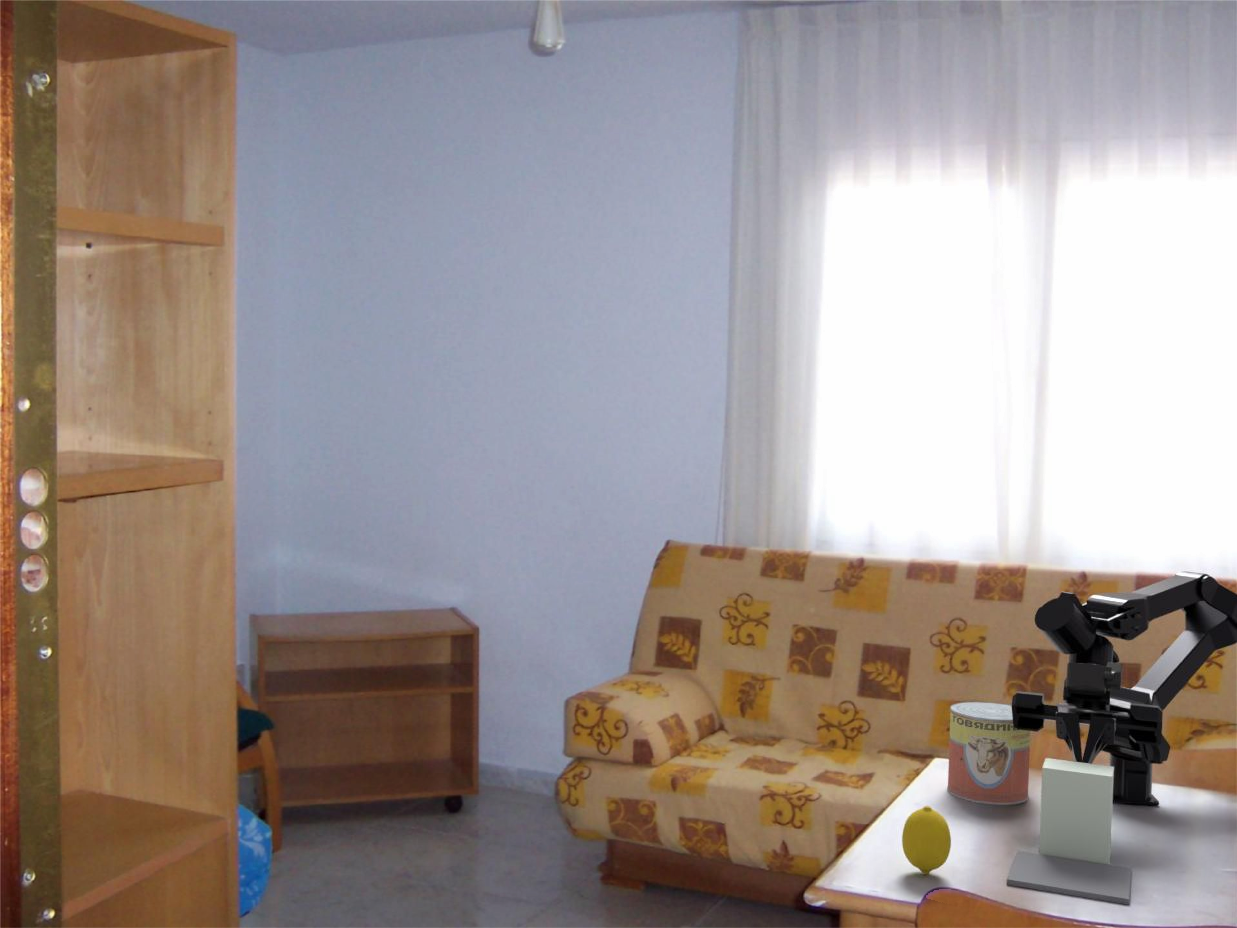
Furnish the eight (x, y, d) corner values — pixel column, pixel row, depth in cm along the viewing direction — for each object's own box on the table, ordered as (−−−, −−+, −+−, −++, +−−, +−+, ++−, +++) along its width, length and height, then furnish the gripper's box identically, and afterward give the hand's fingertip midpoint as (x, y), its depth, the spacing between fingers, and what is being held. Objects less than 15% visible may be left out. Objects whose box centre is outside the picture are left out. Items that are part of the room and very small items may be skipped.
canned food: (945, 799, 176) (948, 715, 175) (948, 778, 186) (951, 698, 186) (1029, 808, 172) (1032, 722, 172) (1027, 786, 183) (1030, 705, 183)
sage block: (1042, 843, 157) (1045, 757, 157) (1110, 854, 154) (1113, 766, 154) (1038, 856, 153) (1042, 767, 152) (1108, 867, 150) (1112, 776, 149)
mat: (1017, 854, 153) (1017, 850, 153) (1131, 872, 148) (1131, 867, 148) (1006, 884, 143) (1006, 878, 143) (1128, 904, 138) (1129, 898, 138)
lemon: (941, 886, 142) (943, 816, 141) (894, 875, 145) (896, 807, 144) (955, 872, 146) (958, 804, 146) (910, 862, 149) (912, 796, 149)
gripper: (1015, 632, 169) (1003, 729, 159) (1165, 645, 162) (1161, 748, 152) (1019, 679, 177) (1007, 775, 167) (1162, 693, 169) (1159, 795, 159)
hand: (1081, 772), depth 161 cm, fingers closed
